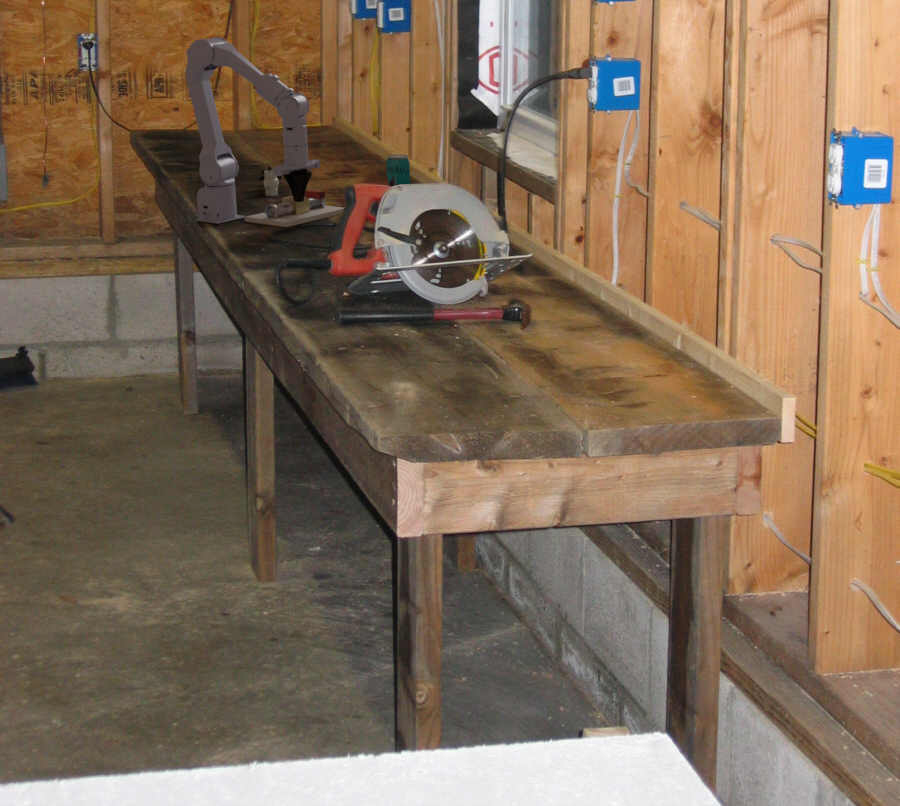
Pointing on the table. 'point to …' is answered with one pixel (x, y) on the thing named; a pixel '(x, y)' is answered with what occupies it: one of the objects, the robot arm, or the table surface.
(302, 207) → the valve body
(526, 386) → the table surface
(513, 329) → the table surface
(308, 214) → the mounting board
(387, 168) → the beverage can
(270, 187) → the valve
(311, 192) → the valve lever
